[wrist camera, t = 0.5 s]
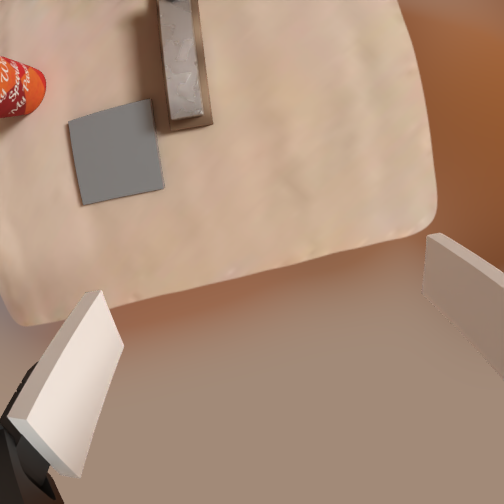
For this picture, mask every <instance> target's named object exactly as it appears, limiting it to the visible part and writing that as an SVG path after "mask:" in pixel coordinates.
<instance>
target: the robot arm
mask: <svg viewBox="0 0 504 504" xmlns="http://www.w3.org/2000/svg"><path fill="white" fill-rule="evenodd" d="M422 294H423V295H424V296H425V297H426V298H427V299H428V300H429V301H430V302H431V303H432V304H433V305H434V306H435V307H436V308H437V309H438V310H439V311H440V312H441V313H442V314H443V315H444V316H445V317H446V318H447V319H448V320H449V321H450V322H451V323H452V324H453V325H454V326H455V328H456V329H457V330H458V331H459V332H460V333H461V334H462V335H463V336H464V337H465V338H466V339H467V340H468V341H469V342H470V343H471V345H472V346H473V347H474V348H475V349H476V350H477V351H478V352H479V353H480V354H481V355H482V357H483V358H484V359H485V360H486V361H487V362H488V363H489V364H490V365H491V367H492V368H493V369H494V370H495V371H496V372H497V374H498V375H499V376H500V377H501V378H502V379H503V380H504V273H503V272H502V271H500V270H499V269H497V268H496V267H494V266H493V265H491V264H490V263H488V262H487V261H485V260H484V259H482V258H480V257H479V256H478V255H476V254H474V253H473V252H471V251H470V250H468V249H467V248H465V247H463V246H462V245H460V244H459V243H457V242H455V241H454V240H452V239H450V238H449V237H447V236H445V235H444V234H442V233H436V234H431V235H427V241H426V255H425V266H424V276H423V286H422ZM123 348H124V344H123V342H122V340H121V338H120V335H119V333H118V330H117V328H116V326H115V323H114V321H113V319H112V316H111V314H110V311H109V308H108V306H107V303H106V301H105V298H104V295H103V293H102V290H98V291H91V292H85V294H84V295H83V296H82V298H81V299H80V301H79V302H78V303H77V305H76V306H75V308H74V309H73V310H72V312H71V313H70V315H69V316H68V318H67V319H66V321H65V322H64V324H63V325H62V327H61V328H60V329H59V331H58V333H57V334H56V335H55V337H54V339H53V340H52V341H51V343H50V345H49V346H48V348H47V349H46V351H45V352H44V354H43V355H42V357H41V359H40V360H39V361H38V362H37V363H36V364H35V365H34V366H32V367H31V368H30V369H29V370H28V371H27V373H26V375H25V377H24V378H23V380H22V383H20V385H19V386H18V388H17V392H15V393H14V395H13V397H12V399H11V400H10V402H9V404H8V405H7V407H6V409H5V411H4V413H3V415H2V416H1V418H0V504H64V502H63V500H62V498H61V495H60V493H59V491H58V489H57V487H56V485H55V482H54V480H53V479H52V477H51V475H50V474H49V473H48V469H49V466H50V465H51V466H52V467H53V468H54V469H55V470H56V471H57V472H58V473H59V474H60V475H63V476H69V477H74V478H81V475H82V471H83V467H84V464H85V460H86V457H87V453H88V450H89V446H90V443H91V440H92V437H93V434H94V430H95V427H96V424H97V421H98V418H99V415H100V412H101V409H102V406H103V403H104V400H105V397H106V394H107V391H108V388H109V386H110V383H111V380H112V377H113V374H114V372H115V369H116V366H117V364H118V361H119V358H120V356H121V353H122V350H123Z"/></svg>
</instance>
